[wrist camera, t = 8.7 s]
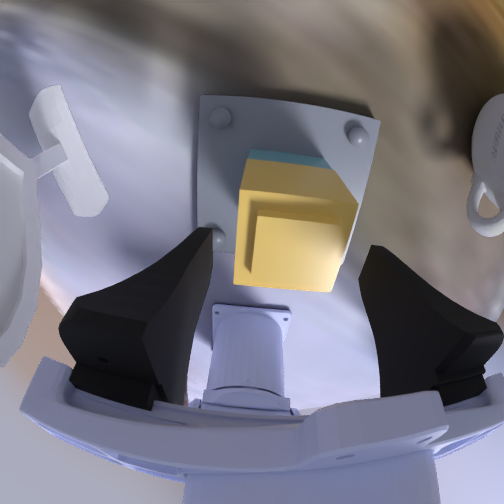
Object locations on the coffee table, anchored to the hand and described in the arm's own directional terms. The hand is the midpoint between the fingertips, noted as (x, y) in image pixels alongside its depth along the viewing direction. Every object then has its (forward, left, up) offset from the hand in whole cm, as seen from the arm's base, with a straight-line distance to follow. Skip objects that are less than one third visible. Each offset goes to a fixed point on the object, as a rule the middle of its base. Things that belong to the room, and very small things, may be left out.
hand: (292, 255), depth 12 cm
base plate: (0, 0, -9) cm, 9 cm away
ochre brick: (0, 0, -5) cm, 5 cm away
